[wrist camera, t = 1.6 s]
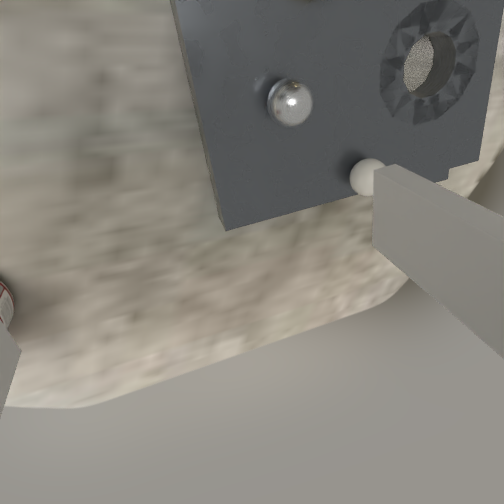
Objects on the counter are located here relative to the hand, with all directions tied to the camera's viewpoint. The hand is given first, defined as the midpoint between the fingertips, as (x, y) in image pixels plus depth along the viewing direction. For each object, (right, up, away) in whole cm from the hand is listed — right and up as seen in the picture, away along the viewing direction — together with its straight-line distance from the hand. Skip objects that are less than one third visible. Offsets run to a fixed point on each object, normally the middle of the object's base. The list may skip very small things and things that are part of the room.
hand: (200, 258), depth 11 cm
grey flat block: (+9, +14, +19) cm, 25 cm away
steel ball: (+4, +10, +15) cm, 18 cm away
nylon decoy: (+11, +6, +19) cm, 23 cm away
